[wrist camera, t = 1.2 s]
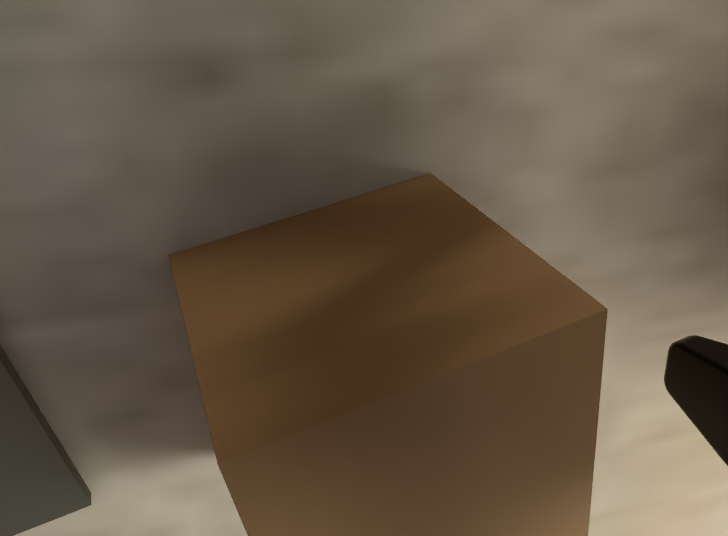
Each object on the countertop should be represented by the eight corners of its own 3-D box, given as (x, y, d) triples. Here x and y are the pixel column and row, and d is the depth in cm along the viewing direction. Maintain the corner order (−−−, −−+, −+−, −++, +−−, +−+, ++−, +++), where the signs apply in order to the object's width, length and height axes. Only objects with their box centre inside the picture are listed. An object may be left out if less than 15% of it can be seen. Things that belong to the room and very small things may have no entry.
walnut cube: (429, 171, 12) (606, 308, 8) (447, 366, 14) (586, 542, 10) (168, 253, 11) (217, 464, 7) (242, 447, 13) (308, 680, 9)
